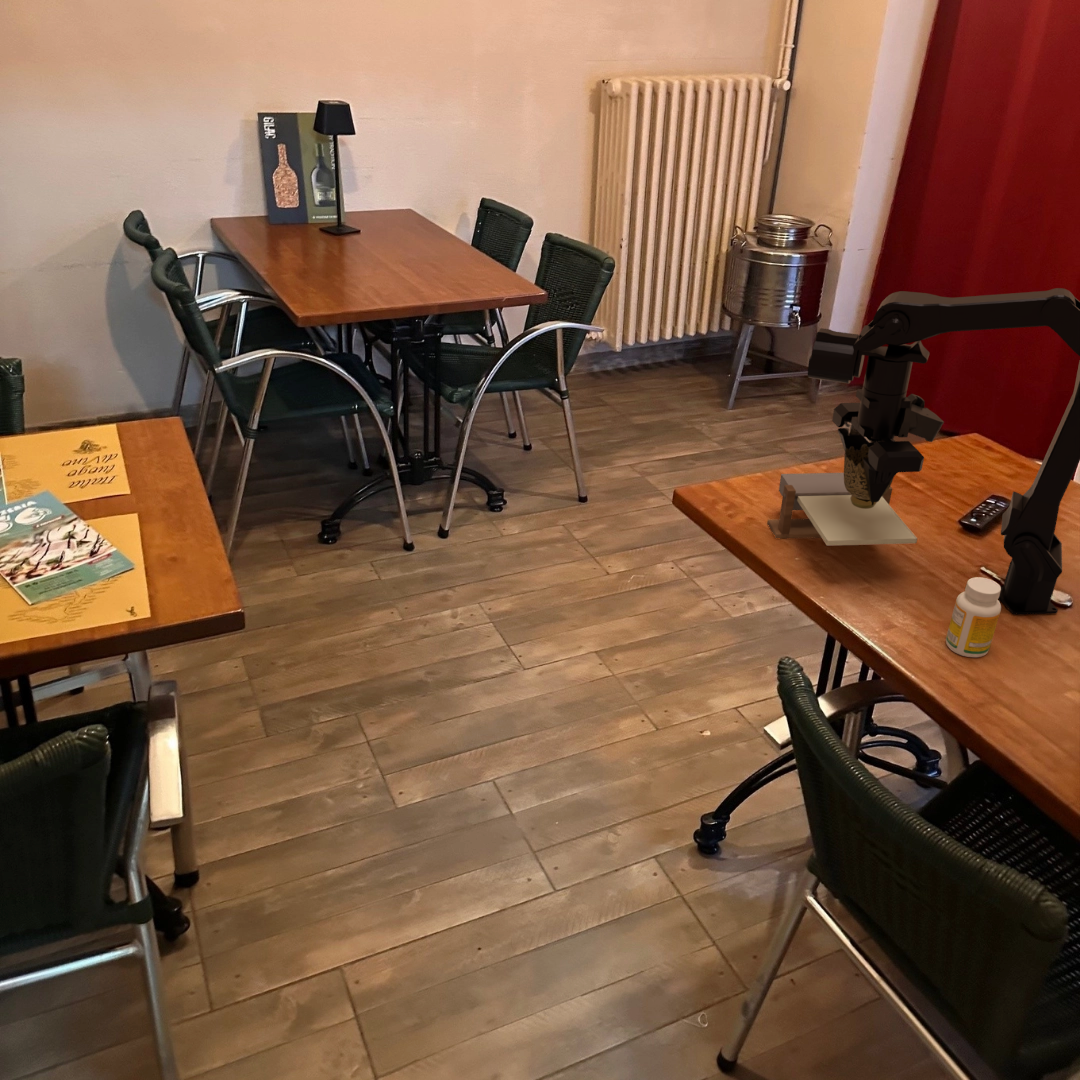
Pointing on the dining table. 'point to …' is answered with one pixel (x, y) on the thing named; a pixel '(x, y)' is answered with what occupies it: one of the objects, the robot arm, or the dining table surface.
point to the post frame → (800, 527)
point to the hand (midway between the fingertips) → (865, 491)
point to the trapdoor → (845, 513)
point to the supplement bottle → (974, 618)
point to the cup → (858, 477)
